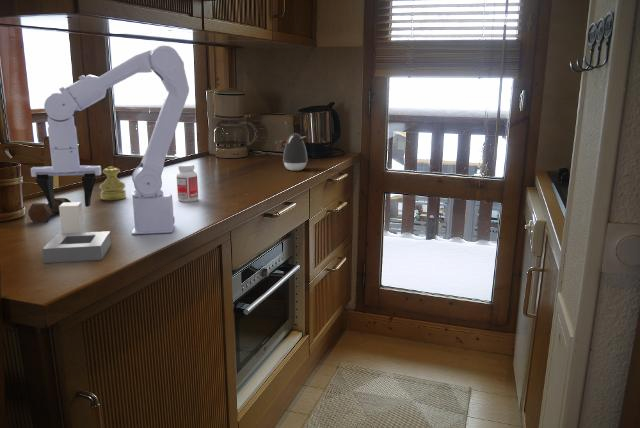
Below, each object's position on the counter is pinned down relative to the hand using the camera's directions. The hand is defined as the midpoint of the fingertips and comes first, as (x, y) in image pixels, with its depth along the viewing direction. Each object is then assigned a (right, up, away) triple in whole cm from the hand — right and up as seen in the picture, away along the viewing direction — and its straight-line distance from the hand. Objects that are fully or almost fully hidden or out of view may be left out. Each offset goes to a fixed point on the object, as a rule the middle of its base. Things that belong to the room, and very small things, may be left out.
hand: (70, 206), depth 123 cm
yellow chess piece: (-7, +3, +43) cm, 44 cm away
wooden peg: (0, -7, +2) cm, 8 cm away
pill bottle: (+17, +2, +41) cm, 45 cm away
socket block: (+7, -10, -10) cm, 16 cm away
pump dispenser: (+48, +17, +99) cm, 111 cm away
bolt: (-15, -3, +22) cm, 26 cm away
